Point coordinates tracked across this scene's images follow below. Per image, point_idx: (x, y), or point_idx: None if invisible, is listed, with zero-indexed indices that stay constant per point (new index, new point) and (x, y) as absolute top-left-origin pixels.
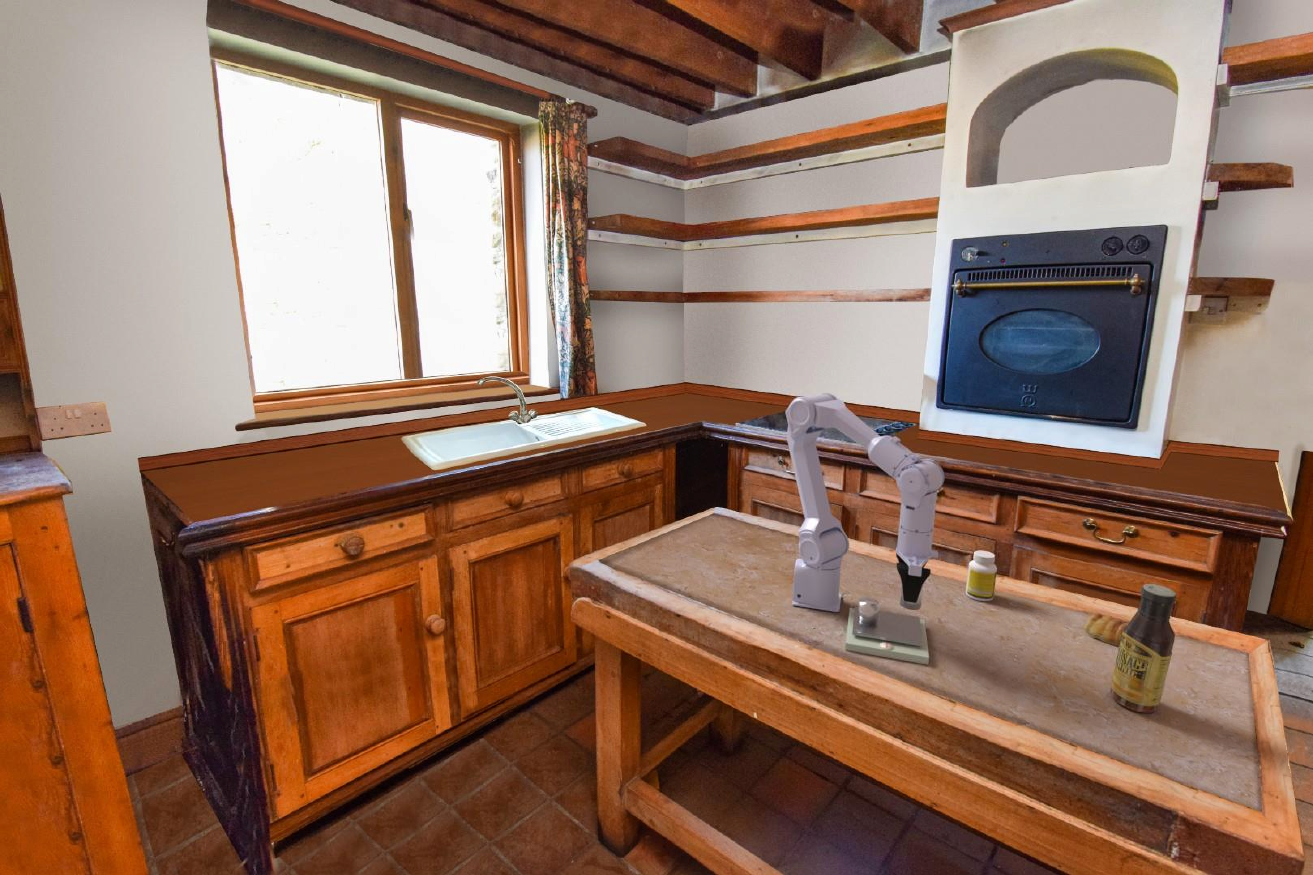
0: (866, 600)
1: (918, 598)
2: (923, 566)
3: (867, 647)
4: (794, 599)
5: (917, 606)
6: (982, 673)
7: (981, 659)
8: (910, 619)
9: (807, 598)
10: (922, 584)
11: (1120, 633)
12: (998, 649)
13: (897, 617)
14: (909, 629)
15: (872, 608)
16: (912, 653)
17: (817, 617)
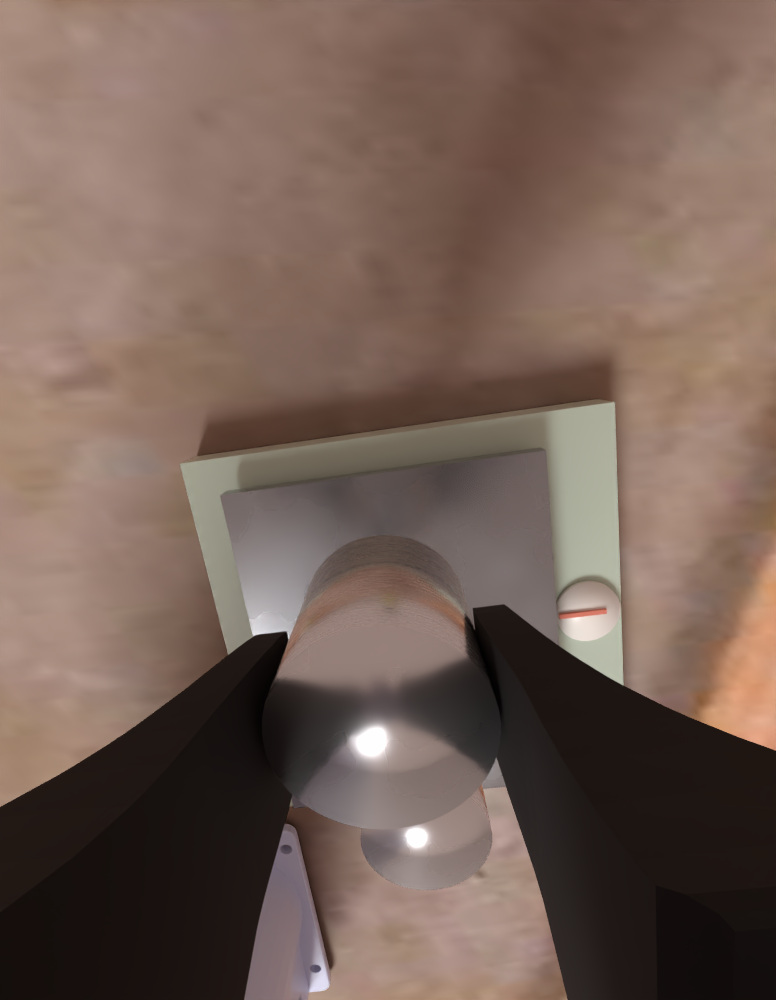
0: (413, 853)
1: (450, 600)
2: (103, 847)
3: (622, 683)
4: (307, 998)
5: (446, 567)
6: (572, 109)
7: (416, 119)
8: (282, 540)
9: (294, 974)
10: (674, 715)
11: None
12: (241, 12)
13: (296, 607)
14: (408, 533)
15: (481, 799)
16: (602, 485)
17: (379, 880)
